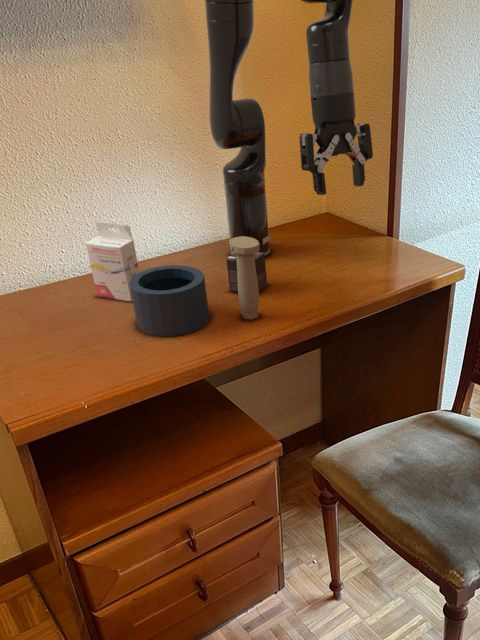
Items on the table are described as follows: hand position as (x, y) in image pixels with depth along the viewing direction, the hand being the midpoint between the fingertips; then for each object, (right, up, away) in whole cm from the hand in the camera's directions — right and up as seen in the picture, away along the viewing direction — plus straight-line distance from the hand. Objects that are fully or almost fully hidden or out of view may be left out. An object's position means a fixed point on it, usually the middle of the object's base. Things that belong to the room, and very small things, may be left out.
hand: (340, 190), depth 121 cm
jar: (-32, -23, +8) cm, 40 cm away
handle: (-17, -22, +9) cm, 29 cm away
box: (-19, -14, +20) cm, 31 cm away
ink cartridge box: (-46, -16, +19) cm, 52 cm away
